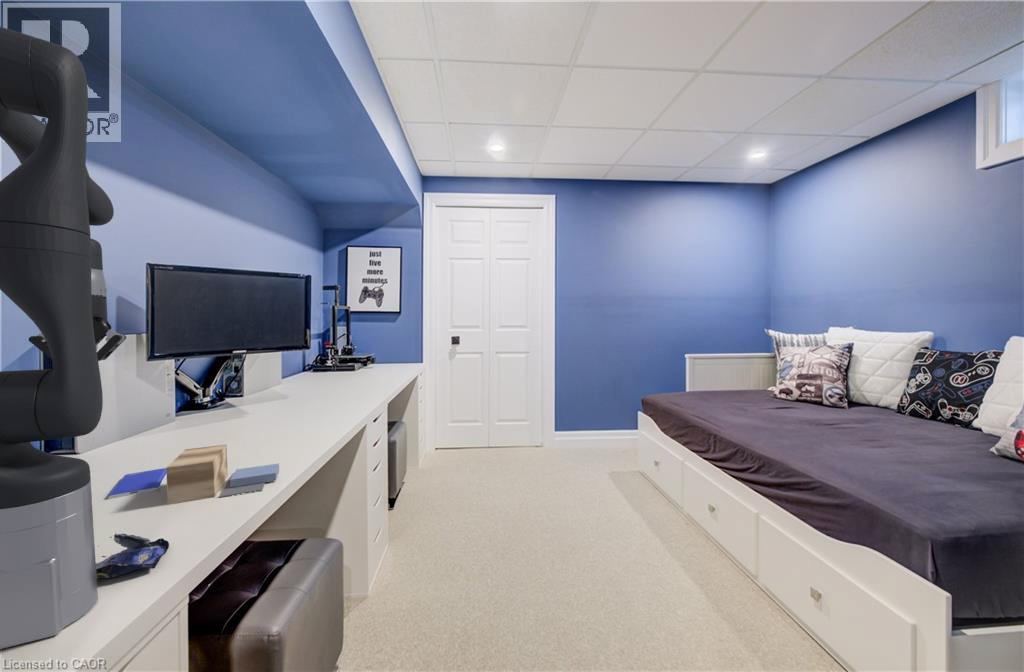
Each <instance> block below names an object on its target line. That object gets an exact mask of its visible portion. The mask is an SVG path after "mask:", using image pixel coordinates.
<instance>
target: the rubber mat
mask: <svg viewBox="0 0 1024 672" xmlns="http://www.w3.org/2000/svg"><path fill="white" fill-rule="evenodd" d="M234 473H235V471H234V472H233V473H232V474H231V475H230V478H229V479H228V481H227V483H226V485H225V486H224V487H223V490H221V493H220V494H219V496H218V498H219V499H221V498H226V497H233V496H232V495H234V496H238V495H237V494H240V495H243V494H242V493H246V494H249V493H248V492H252V493H256V492H255V491H258V492H263V490H262V489H264V487H265V485H264V484H266V482H263V483H256V484H250V485H244V486H237V487H230V479H231V477H232V476H233V474H234Z"/></svg>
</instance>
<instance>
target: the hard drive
mask: <svg viewBox="0 0 1024 672" xmlns="http://www.w3.org/2000/svg"><path fill="white" fill-rule="evenodd" d="M166 478H167V474H166V467H164V468H156V469H150V470H145V471H139V472H134V473H133V472H132V473H126V474H125V475H123V477H122V478H121V479H120V480H119V482H118V483H117V484H116V485H115V487H113V489H112V491H111V492H110V493H109V494H108V495H107V500H111V499H116V498H121V497H127V496H134V495H137V494H138V495H139V494H143V493H148V492H155V491H158V490H159V489H160V487H161V486H162V484H163V483H164V481H163V480H165V479H166Z"/></svg>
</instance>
